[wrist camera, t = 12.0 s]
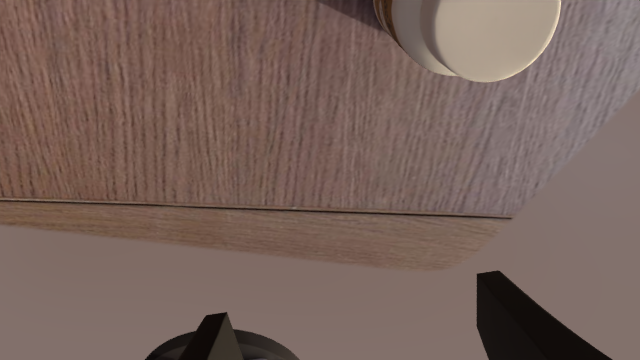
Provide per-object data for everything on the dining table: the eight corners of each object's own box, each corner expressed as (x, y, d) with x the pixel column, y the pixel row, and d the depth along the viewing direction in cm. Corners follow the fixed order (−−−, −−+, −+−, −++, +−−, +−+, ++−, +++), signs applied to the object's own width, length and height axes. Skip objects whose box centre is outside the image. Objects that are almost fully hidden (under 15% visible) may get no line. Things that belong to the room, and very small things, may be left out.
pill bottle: (350, 8, 19) (380, 46, 12) (416, -95, 17) (493, -119, 10) (430, 64, 20) (499, 128, 13) (499, -26, 19) (617, -7, 12)
